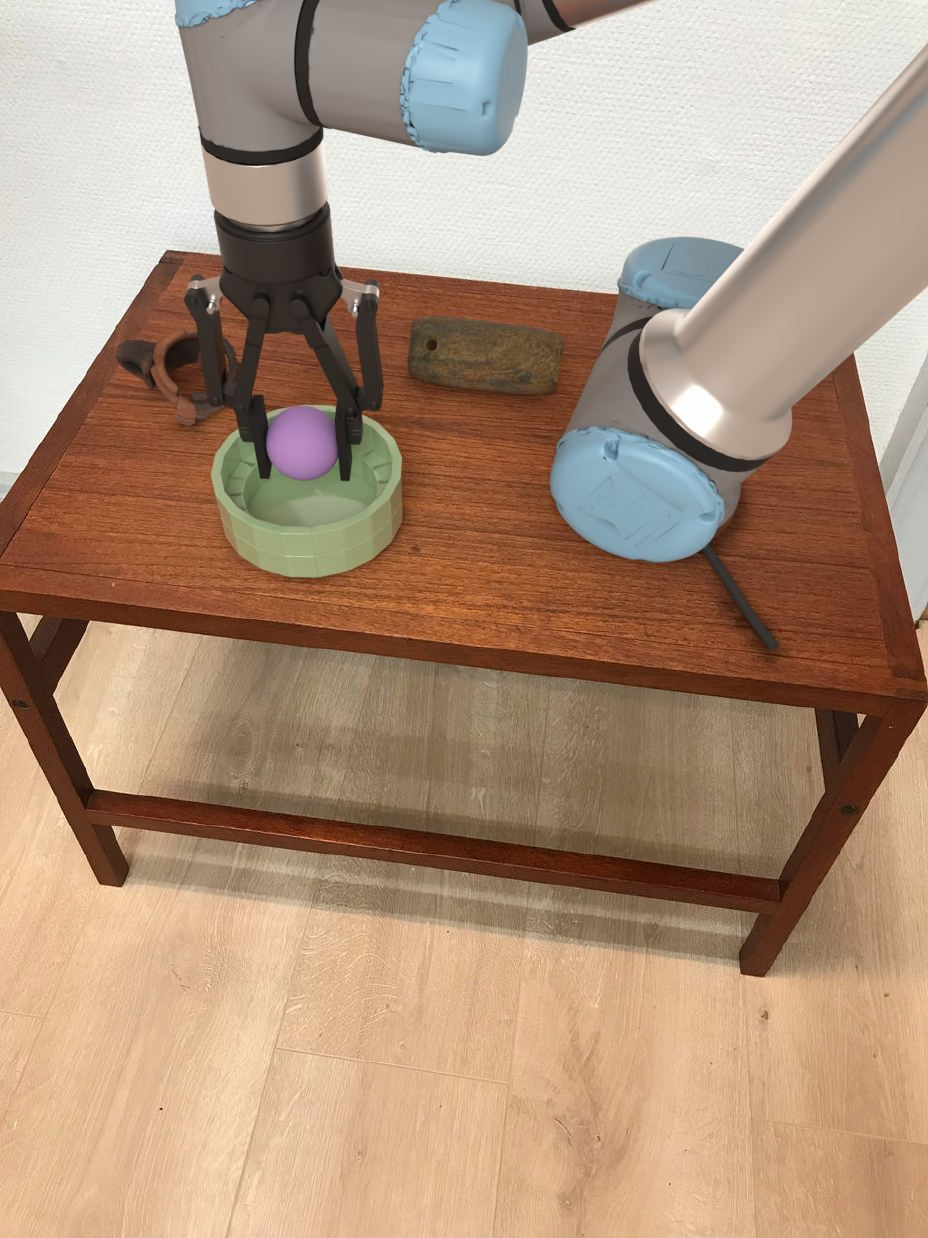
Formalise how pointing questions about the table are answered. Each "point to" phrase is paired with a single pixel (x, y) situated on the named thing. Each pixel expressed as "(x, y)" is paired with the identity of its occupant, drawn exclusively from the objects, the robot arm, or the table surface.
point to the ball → (302, 443)
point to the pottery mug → (167, 357)
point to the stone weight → (484, 355)
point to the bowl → (311, 506)
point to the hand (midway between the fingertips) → (306, 468)
